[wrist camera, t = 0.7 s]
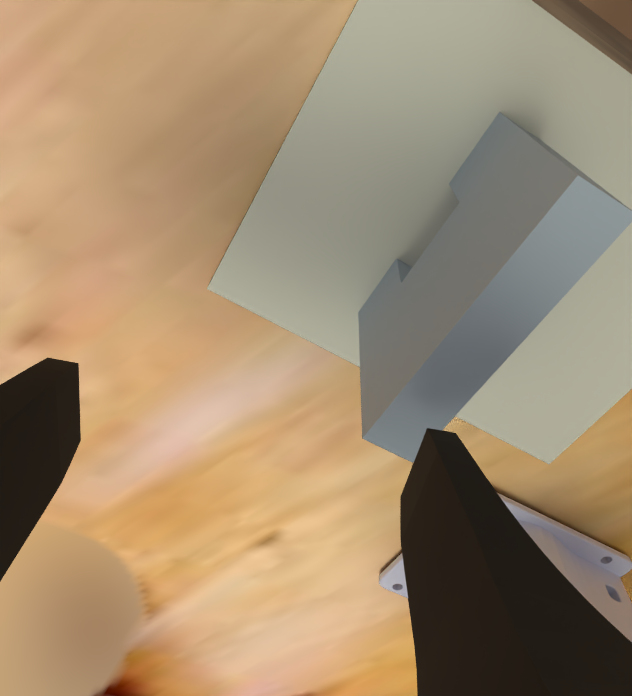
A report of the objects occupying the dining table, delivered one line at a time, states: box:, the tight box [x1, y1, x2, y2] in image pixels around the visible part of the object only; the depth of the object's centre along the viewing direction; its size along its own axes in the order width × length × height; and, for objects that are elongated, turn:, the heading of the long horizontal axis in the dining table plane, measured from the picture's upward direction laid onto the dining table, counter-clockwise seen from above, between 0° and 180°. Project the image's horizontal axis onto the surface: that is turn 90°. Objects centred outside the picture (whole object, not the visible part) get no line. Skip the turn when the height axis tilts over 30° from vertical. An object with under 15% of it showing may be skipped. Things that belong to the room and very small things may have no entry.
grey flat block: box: [358, 112, 632, 463], centre depth 17 cm, size 2×8×7 cm, turn 150°
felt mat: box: [207, 0, 632, 464], centre depth 18 cm, size 16×19×1 cm
